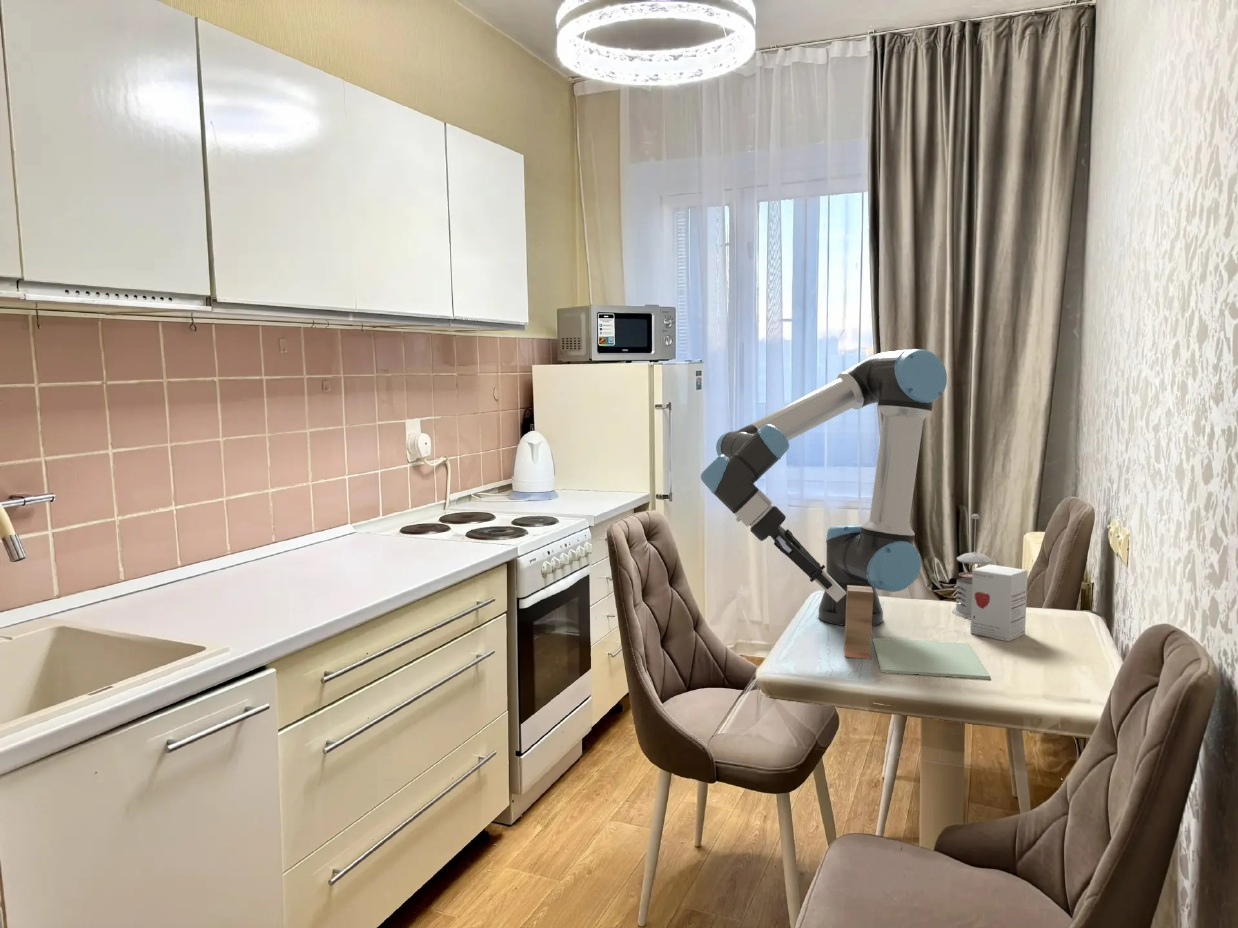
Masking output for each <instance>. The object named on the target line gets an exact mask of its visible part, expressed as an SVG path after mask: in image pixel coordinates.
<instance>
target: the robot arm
mask: <svg viewBox="0 0 1238 928" xmlns="http://www.w3.org/2000/svg"><path fill="white" fill-rule="evenodd" d="M947 384H948V375H947V369H946V366H945V365H944V363H943V362H942V361H941V359H940V357H939V356H938V355H936V354H935V353H934V352H932V351H930V350H927V349H920V348H918V349H917V348H909V349H901V350H895V351H894V350H893V351H884V352H883V351H882V352H880V353H877V354H874V355H871V356H870V357H868V358H866V359H864V360H862V361H860V362H859V363H856V364H854V365H853V366H852V367H850V368H847V369H845V370H844V371H842V372H840V373H839V374H838V375H837V377H836V380H833V381H831V382H830V383H828V384H826V385H824V386H822V387H821V388H819V389H816V390H814V391H812V392H810V393H808V394H807V395H804V396H802V397H801V398H799V399H796V400H795V401H793V402H791V403H789V404H786V405H785V406H783V407H781V408H779V409H777V410H775V411H773V412H771V413H770V414H768V415H766V416H764V417H762V418H760V419H758V420H756V421H754V422H752V423H751V424H748V425H746V426H744V427H742V428H740V429H738V430H736V431H734V430H732V431H727V432H725V433H723V434H722V435H720V436H719V437H718V439H717V441H716V443H715V444H716V445H715V450H716V453H717V456H718V457H716V459H714V460H713V461H712V462H711V463H710V464H709V465H708V466H707V467H706V468H705V469H704V470H703V471H702V472H701V474H700V479H701V481H702V483H704V485H705V486H706V487H707V488H708V489H709V491H710V492H711V494H713V495H714V496H715V497H716V498H718V500H719V501H720V502H721V503H722V504H723V505H724V506H725V507H726V508H727V509H729V510H730V511H731V513H732V514H734V515H735V516H736V518H735V520H736V522H741V523H742V524H744V526H746V527H747V528H748V527H750V532H751V533H752V534H753V535H754V536H755V537H756V538H757V539H758V540H759V541H760V542H762V541H763V542H764V541H765V540H767V538H768V537H771V539H772V540H773V541H774V543H773V545H774V546H775V547H776V548H777V549H778V550H779V551H780V552H781V553H782V554H784V555H785V556H786V557H787V558H789V559H790V560H791V561H792V562H793V563H794V564H795V565H796V566H797V567H798V568H799V569H800V570H801V571H802V572H803V573H804V574H806V575H807V576H808V577H809V582H811V583H813V582H814V581H815V583H817V584H818V585H819V587H820V588H821V589H823V590H824V592H823V595H822V597H821V600H820V603H819V606H818V618H819V620H821V621H823V622H826V623H829V624H832V625H837V626H844V627H845V621H846V599H847V585H851V586H866V587H872V590H873V611H872V626H875V625H879V624H881V623H883V621H884V612H883V607H882V604H881V601H880V597H879V594H878V592H877V590H879V591H886V592H891V593H896V592H901V591H903V590H905V589H907V588H908V587H909V586H910V585H912V584H913V583H914V582H915V581H916V580H917V578H918V577H919V575H920V571H921V568H922V558H921V555H920V553H919V552H918V548H917V547H915V546H914V542H915V534H916V533H915V532H914V530H913V529H912V528H911V526H910V519H911V513H912V512H911V511H912V505H913V504H912V503H913V497H914V492H915V491H914V490H915V484H916V475H917V469H918V461H919V454H920V448H921V439H922V432H923V426H924V420H925V418H927V417H929V415H931V414H932V412H933V405H934V401H935V400H936V401H937V399H938V398H939V397H940V396H941V395H943V393H944V392H945V389H946V388H947ZM876 403H877V409H879V411H880V412H881V414H882V415H883V416H882V417H883V419H882V424H881V425H882V426H881V433H880V439H879V445H878V446H879V447H878V453H877V459H876V460H877V462H876V467H875V468H876V469H875V475H874V483H873V490H872V491H873V492H872V497H871V504H870V513H869V518H868V520H867V521H866V522H865V523H863V524H843V525H831V526H830V527H829V528H827V529H828V530H827V531H826V532H827V533H826V540H825V543H826V566H825V565H824V564H822V565H821V563H820V562H818V561H817V560H816V559H815V557H813V556H812V554H811V553H810V552H809V551H808V550H807V549H806V548H805V547H804V546H803V545H802V544H801V542H800V541H799V540H798V539H797V538H796V537H795V536H794V535H793V533H792V531H791V530H789V529H788V528H787V529H785V528H783V526H781V525H782V524H783V523H784V522H785V520H786V519H787V516H786V515H785V513H783V512H782V511H781V510H780V509H779V508H778V507H777V506H776V505H773V506H772V504H773V501H771V499H769V497H767V496H766V494H765V493H764V492H763V491H762V490H761V489H759V488H758V487H757V486H756V484H755V483H756V482H757V481H759V480H760V478H761V477H762V476H763V475H765V474H766V472H767V471H769V470H770V469H771V468H772V467H773V466H774V465H775V464H776V463H777V462H778V461H779V460H781V459H782V457H783V456H784V455H785V453H787V451H788V450H789V448H790V443H789V441H791V440H793V439H795V438H797V437H798V436H801V435H803V434H805V433H807V432H808V431H811V430H812V429H814V428H816V427H818V426H820V425H821V424H824V423H826V422H828V421H829V420H831V419H833V418H835V417H837V416H839V415H841V414H843V413H845V412H846V411H849V410H851V409H853V410H860V409H862V408H864V407H866V406H868V405H872V404H876ZM825 568H826V570H825Z"/></svg>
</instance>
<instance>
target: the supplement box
mask: <svg viewBox="0 0 1238 928" xmlns="http://www.w3.org/2000/svg"><path fill="white" fill-rule="evenodd" d="M975 568H976V569H974V568H973V569H972V572H971V573H972V605H971V618H970V634H972V635H977V636H982V637H986V638H990V639H995V640H1000V641H1004V642H1010V641H1013V640H1015V639H1018V638H1020V637H1021V636H1023V635H1025V634H1026V619H1027V618H1026V617H1027V614H1026V613H1027V598H1028V597H1027V594H1028V575H1029V574H1028V573H1029V571H1028V569H1023V568H1016V567H1010V566H1002V565H995V564H990V563H988V564H985V565H983V566H981V567H980V566H979V567H975Z"/></svg>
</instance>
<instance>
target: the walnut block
mask: <svg viewBox="0 0 1238 928" xmlns="http://www.w3.org/2000/svg"><path fill="white" fill-rule="evenodd" d="M872 611H873V590H872V587H866V586H851V585H847V599H846V621H845V626H844V628H845V629H844V644H843V645H844V646H843V650H844V657H845V658H855V659H865V660H866V659H869V660H870V659H871V650H872V648H871V647H872V646H871V645H872V631H873V630H872V627H873V625H872Z"/></svg>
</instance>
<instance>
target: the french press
mask: <svg viewBox="0 0 1238 928" xmlns="http://www.w3.org/2000/svg"><path fill="white" fill-rule="evenodd" d="M970 517H971V519H972V520H974V535H973V536H974V539H973V544H974V545H973V552H965V553H963V554H961V555H959V556H957V557H956V560H957V562H960V563H963V564H970V565H973V569H976V568H977V567H975V566H976V565H988V564H990V563H992V562H993V559H991V558H990V557H989V556H987V555H985V554H983V553H979V552H977V551H976V529H977V528H976V527H977V520H980V518H981V517H980V515H979V514H978V513H973V514H971V516H970ZM972 573H973V572H972V571H971V572H970V571H965V572H964V571H963V572H959V573H958V577H959V578H958V579H956V600H955V601H956V605H955V608H954V609H952V611H951V613H952V614H953V615H955V616H958V617H961V616H962V617H961V618H965V617H966V618H967V619H971V605H972Z"/></svg>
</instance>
